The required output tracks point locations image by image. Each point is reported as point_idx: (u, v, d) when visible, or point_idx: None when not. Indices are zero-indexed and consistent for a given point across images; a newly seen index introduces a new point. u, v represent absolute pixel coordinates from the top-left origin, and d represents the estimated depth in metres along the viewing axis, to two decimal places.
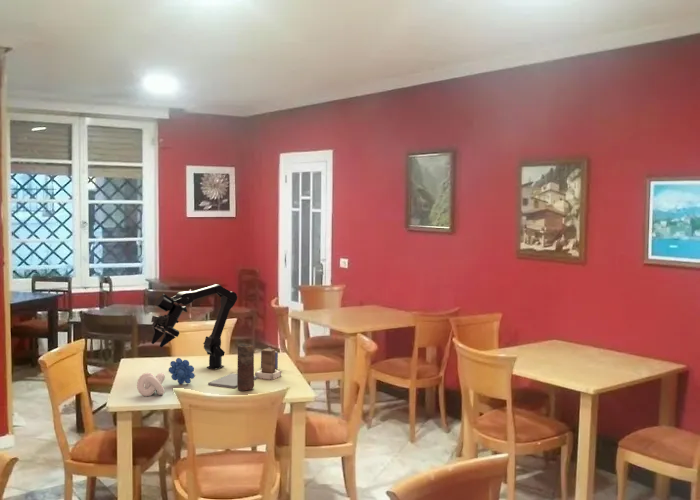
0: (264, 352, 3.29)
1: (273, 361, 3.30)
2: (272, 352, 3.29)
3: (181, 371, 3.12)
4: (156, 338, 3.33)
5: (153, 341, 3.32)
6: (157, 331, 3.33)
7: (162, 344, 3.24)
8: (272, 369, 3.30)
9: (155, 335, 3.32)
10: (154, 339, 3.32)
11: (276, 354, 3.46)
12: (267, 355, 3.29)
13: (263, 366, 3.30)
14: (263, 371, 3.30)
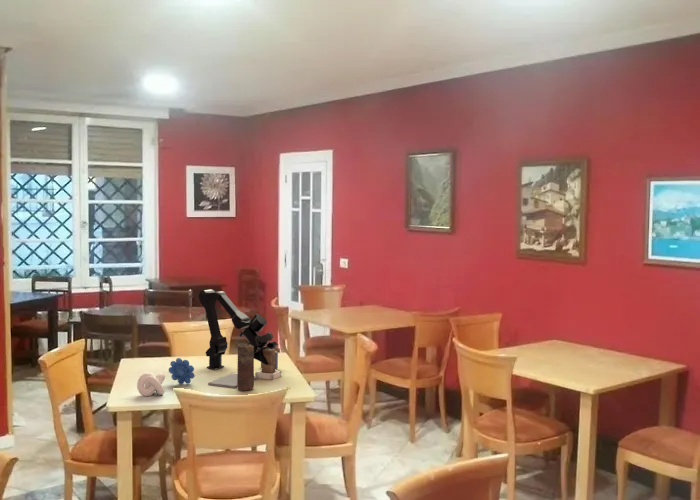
0: (264, 352, 3.29)
1: (273, 361, 3.30)
2: (272, 352, 3.29)
3: (181, 371, 3.12)
4: None
5: None
6: None
7: None
8: (272, 369, 3.30)
9: None
10: None
11: (276, 354, 3.46)
12: (267, 355, 3.29)
13: (263, 366, 3.30)
14: (263, 371, 3.30)
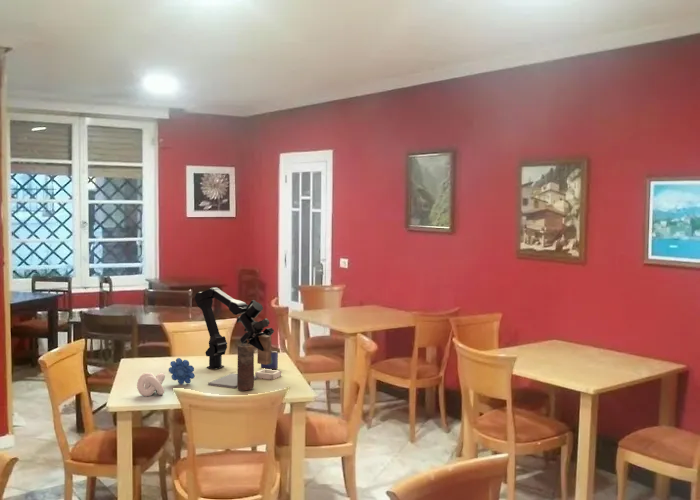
0: (260, 338, 3.28)
1: (269, 347, 3.29)
2: (268, 338, 3.27)
3: (181, 371, 3.12)
4: None
5: None
6: None
7: None
8: (268, 355, 3.28)
9: None
10: None
11: (276, 354, 3.46)
12: (263, 341, 3.27)
13: (259, 352, 3.28)
14: (259, 357, 3.29)
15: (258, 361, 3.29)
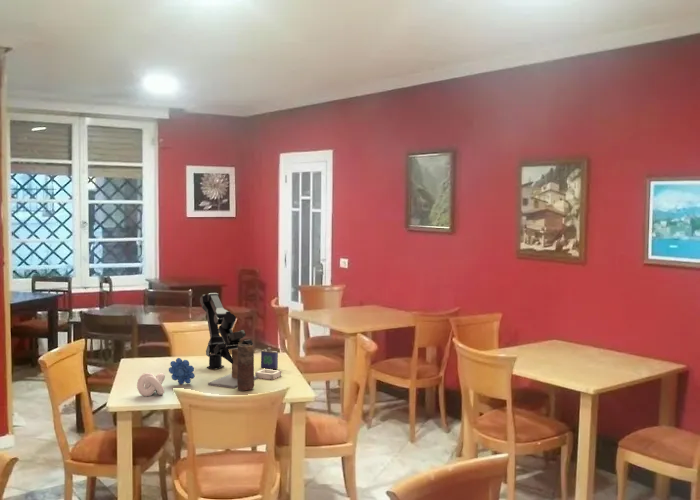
0: (233, 352, 3.24)
1: None
2: None
3: (181, 371, 3.12)
4: None
5: None
6: None
7: None
8: None
9: None
10: None
11: (276, 354, 3.46)
12: (235, 355, 3.23)
13: (233, 366, 3.25)
14: (233, 371, 3.25)
15: (232, 375, 3.25)
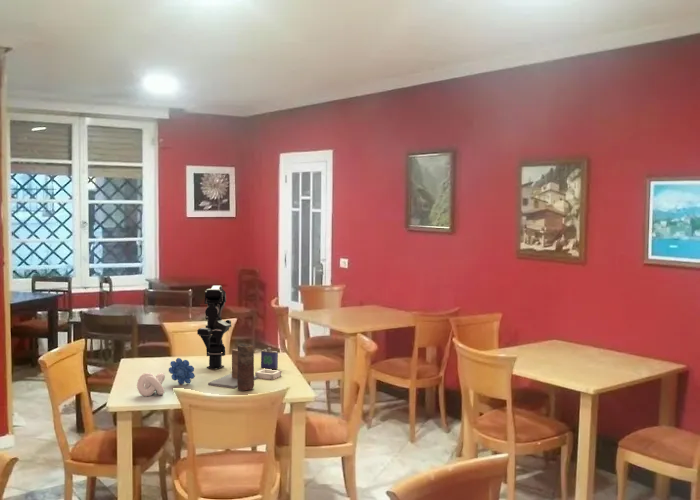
0: (233, 352, 3.24)
1: None
2: None
3: (181, 371, 3.12)
4: None
5: None
6: None
7: None
8: None
9: None
10: None
11: (276, 354, 3.46)
12: (235, 355, 3.23)
13: (233, 366, 3.25)
14: (233, 371, 3.25)
15: (232, 375, 3.25)
